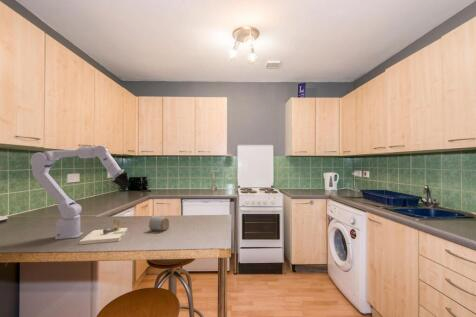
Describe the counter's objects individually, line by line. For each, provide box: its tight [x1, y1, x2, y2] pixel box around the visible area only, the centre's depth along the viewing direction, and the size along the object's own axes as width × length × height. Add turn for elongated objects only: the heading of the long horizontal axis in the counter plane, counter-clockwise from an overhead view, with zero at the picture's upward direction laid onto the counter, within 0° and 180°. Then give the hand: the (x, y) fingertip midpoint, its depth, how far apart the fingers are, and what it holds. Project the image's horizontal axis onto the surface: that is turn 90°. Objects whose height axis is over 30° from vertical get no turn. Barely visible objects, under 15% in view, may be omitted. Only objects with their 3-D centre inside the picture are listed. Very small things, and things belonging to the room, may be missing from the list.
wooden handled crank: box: [102, 218, 121, 234], centre depth 118 cm, size 9×2×5 cm, turn 164°
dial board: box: [79, 227, 128, 245], centre depth 115 cm, size 16×18×2 cm
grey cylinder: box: [148, 214, 170, 232], centre depth 127 cm, size 11×8×8 cm
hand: (127, 187), depth 124 cm, fingers open, 7 cm apart
